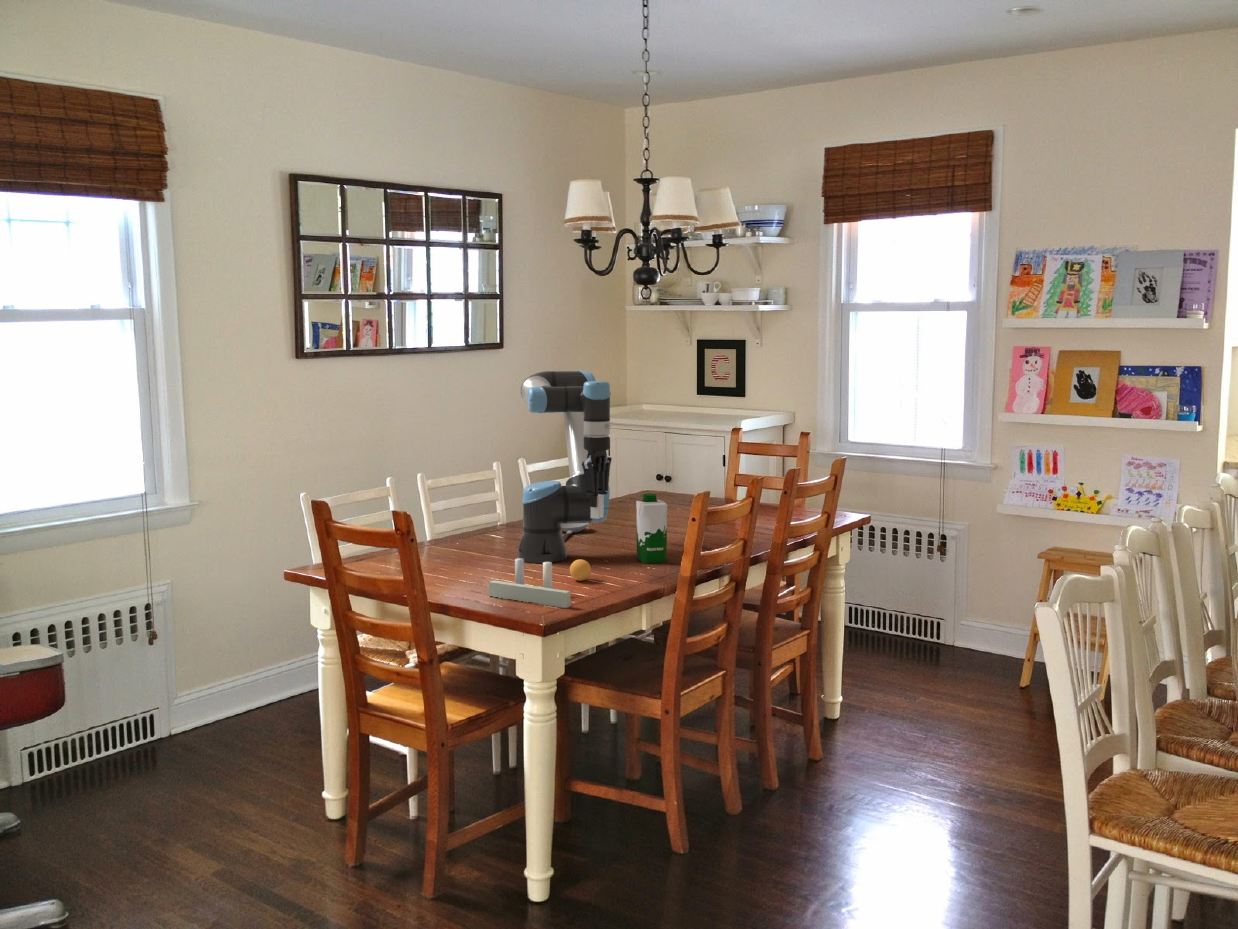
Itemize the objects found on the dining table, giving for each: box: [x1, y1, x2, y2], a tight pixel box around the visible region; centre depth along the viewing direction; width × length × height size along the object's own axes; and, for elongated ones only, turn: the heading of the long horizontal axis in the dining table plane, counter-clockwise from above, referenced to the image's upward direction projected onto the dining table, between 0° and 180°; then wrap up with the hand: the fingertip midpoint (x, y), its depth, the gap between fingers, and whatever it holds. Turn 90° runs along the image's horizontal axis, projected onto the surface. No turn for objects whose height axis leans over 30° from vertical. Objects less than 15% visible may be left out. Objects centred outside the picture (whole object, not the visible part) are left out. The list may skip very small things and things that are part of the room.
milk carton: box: [635, 493, 668, 564], centre depth 332 cm, size 9×9×20 cm
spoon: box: [561, 523, 590, 543], centre depth 368 cm, size 11×33×3 cm, turn 169°
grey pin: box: [514, 557, 525, 585], centre depth 298 cm, size 2×2×8 cm
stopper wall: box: [488, 580, 571, 609], centre depth 286 cm, size 24×2×4 cm, turn 61°
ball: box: [569, 559, 592, 582], centre depth 309 cm, size 6×6×6 cm
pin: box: [542, 562, 553, 589], centre depth 294 cm, size 2×2×8 cm
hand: (597, 517), depth 315 cm, fingers closed
